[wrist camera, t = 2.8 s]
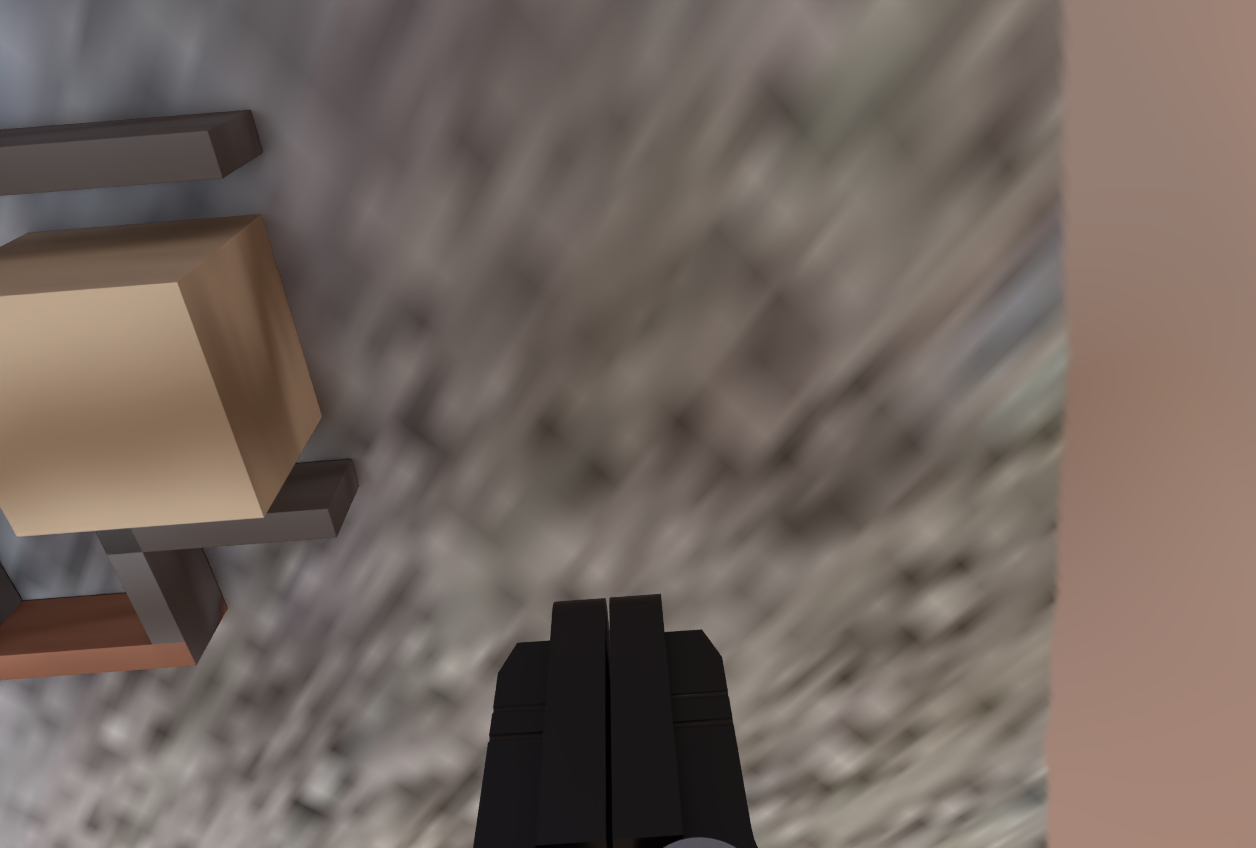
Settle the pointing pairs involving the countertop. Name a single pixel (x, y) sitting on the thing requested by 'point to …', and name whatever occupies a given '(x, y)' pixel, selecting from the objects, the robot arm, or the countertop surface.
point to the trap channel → (169, 554)
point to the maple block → (147, 376)
